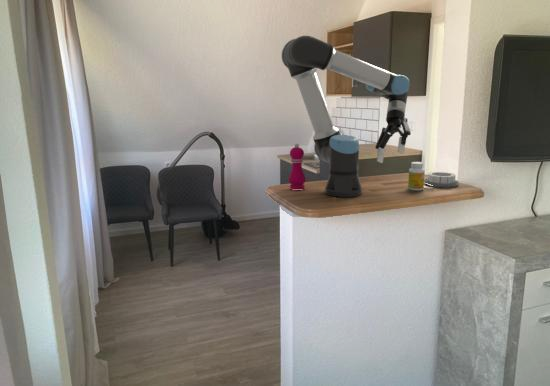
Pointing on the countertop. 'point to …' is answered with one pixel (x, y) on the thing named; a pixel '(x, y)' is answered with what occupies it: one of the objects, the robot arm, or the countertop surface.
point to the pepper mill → (297, 168)
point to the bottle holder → (441, 179)
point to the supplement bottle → (416, 176)
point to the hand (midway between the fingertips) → (389, 157)
